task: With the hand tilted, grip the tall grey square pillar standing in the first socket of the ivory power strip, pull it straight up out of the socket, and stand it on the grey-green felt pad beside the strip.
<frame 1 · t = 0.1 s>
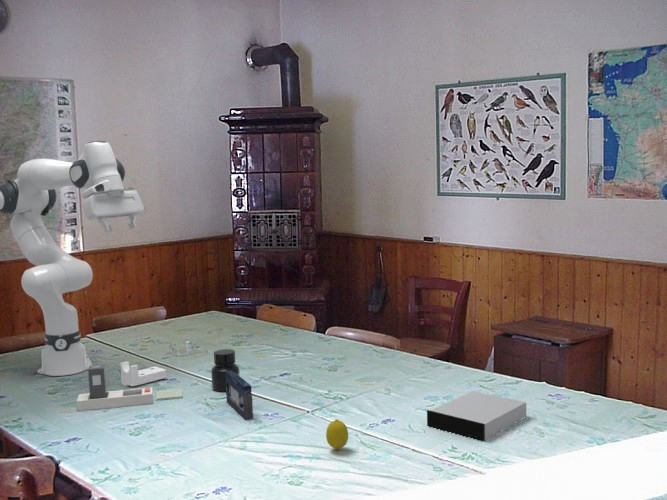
hand: (120, 229, 243), 52 cm above the table, tool tilted 20°, fingers open, 8 cm apart
bracket: (144, 383, 256), on the table
grey square pillar: (98, 398, 233), point 2 cm above the table, touching power strip
felt pad: (169, 395, 241), on the table
power strip: (116, 403, 234), on the table
lemon: (337, 450, 192), on the table
disc drive: (477, 424, 209), on the table
ink bottle: (226, 388, 246), on the table
vhs cassette tape: (239, 411, 225), on the table
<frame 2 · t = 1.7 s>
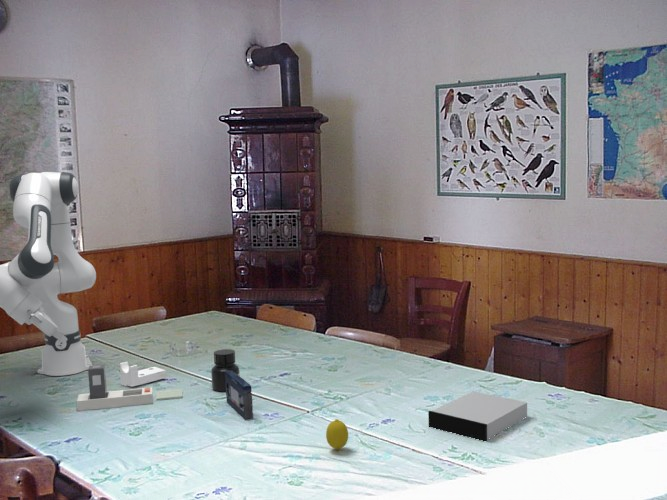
hand: (64, 339, 229), 21 cm above the table, tool tilted 45°, fingers open, 8 cm apart
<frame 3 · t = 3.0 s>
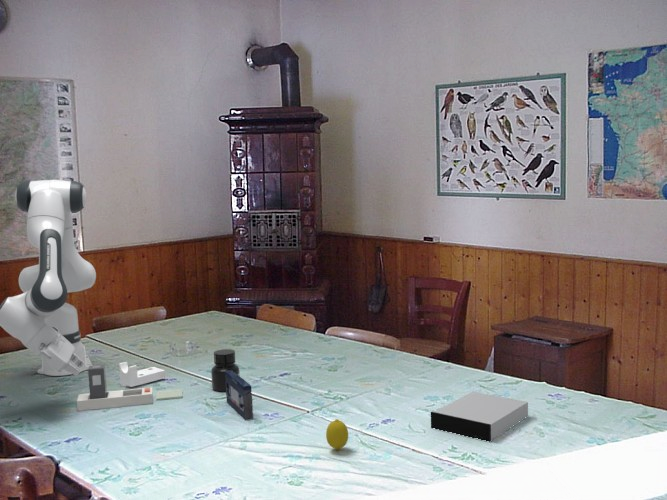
hand: (80, 369, 230), 12 cm above the table, tool tilted 45°, fingers open, 8 cm apart
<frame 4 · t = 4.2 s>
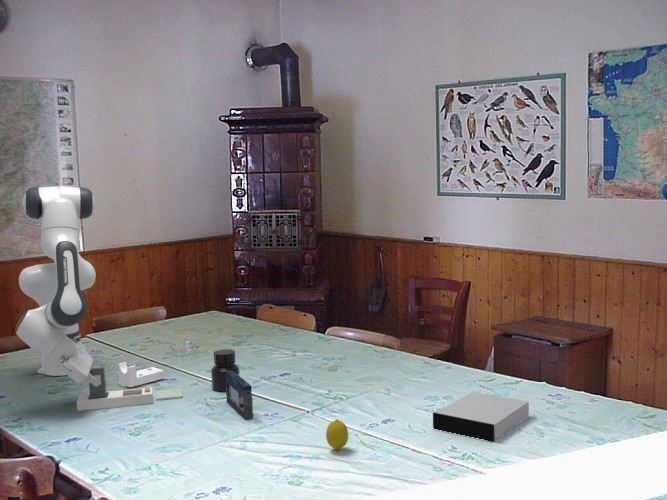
hand: (99, 381, 232), 7 cm above the table, tool tilted 45°, fingers closed on grey square pillar, 4 cm apart
grey square pillar: (98, 398, 233), point 2 cm above the table, touching gripper, power strip
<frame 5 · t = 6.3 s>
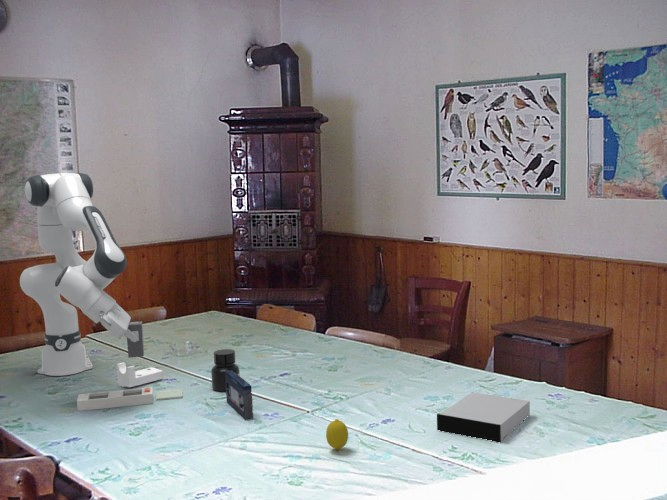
hand: (137, 338, 234), 20 cm above the table, tool tilted 45°, fingers closed on grey square pillar, 4 cm apart
grey square pillar: (136, 355, 235), point 14 cm above the table, touching gripper
when the fingers open (7 cm above the table, at t = 8.5 s): grey square pillar drops 1 cm, resting on felt pad.
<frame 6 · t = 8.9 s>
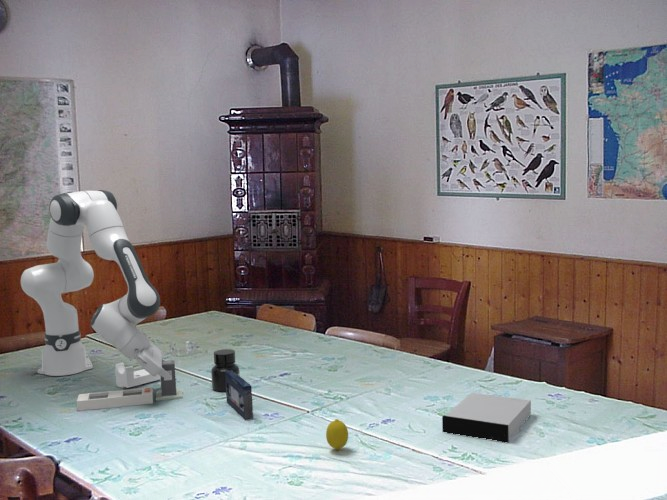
hand: (170, 373, 240), 7 cm above the table, tool tilted 45°, fingers open, 8 cm apart
grey square pillar: (169, 393, 241), point 1 cm above the table, touching felt pad
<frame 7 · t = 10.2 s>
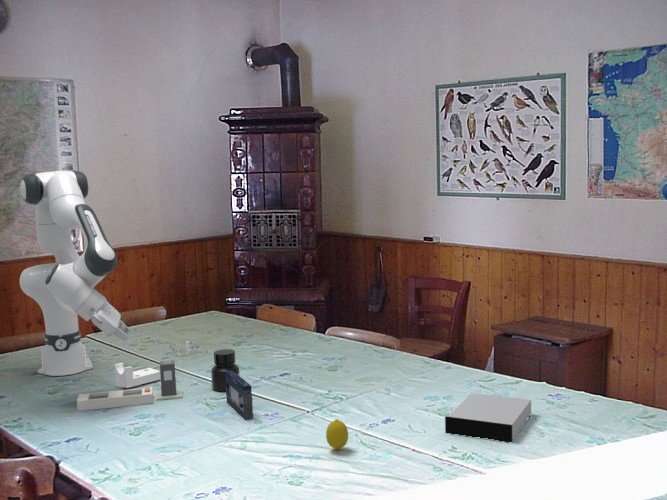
hand: (127, 335, 236), 20 cm above the table, tool tilted 45°, fingers open, 8 cm apart
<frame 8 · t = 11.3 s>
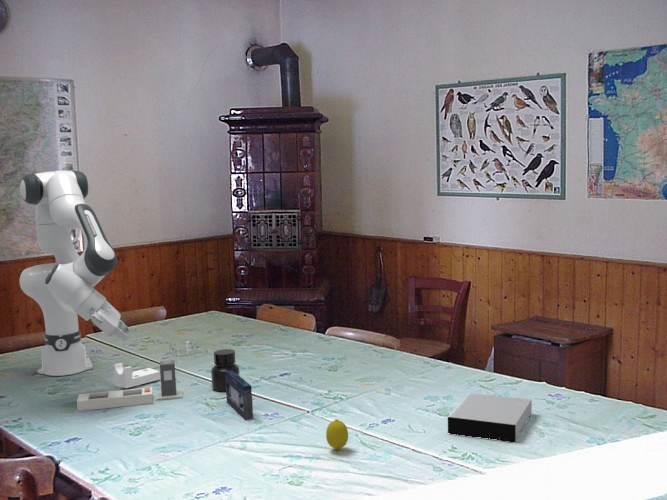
hand: (127, 335, 236), 20 cm above the table, tool tilted 45°, fingers open, 8 cm apart
at the end: grey square pillar inside the target area on the felt pad (0.0 cm from its centre), point 0.6 cm above the felt pad's base; grey square pillar tilted 0°; the gripper is holding nothing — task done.
